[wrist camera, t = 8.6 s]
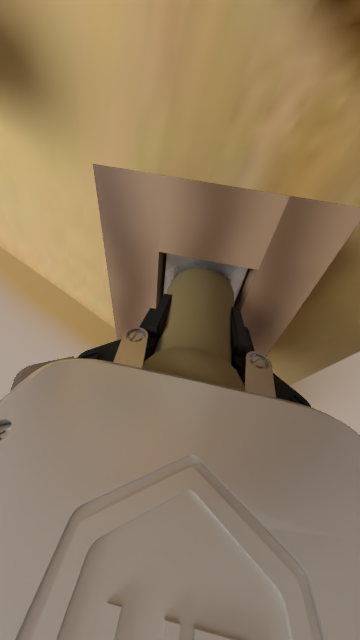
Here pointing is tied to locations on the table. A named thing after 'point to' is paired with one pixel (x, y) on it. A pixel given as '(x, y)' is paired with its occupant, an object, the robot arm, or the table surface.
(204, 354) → the olive pear shape
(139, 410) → the robot arm
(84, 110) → the table surface
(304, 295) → the brown square frame
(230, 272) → the gray square plate
